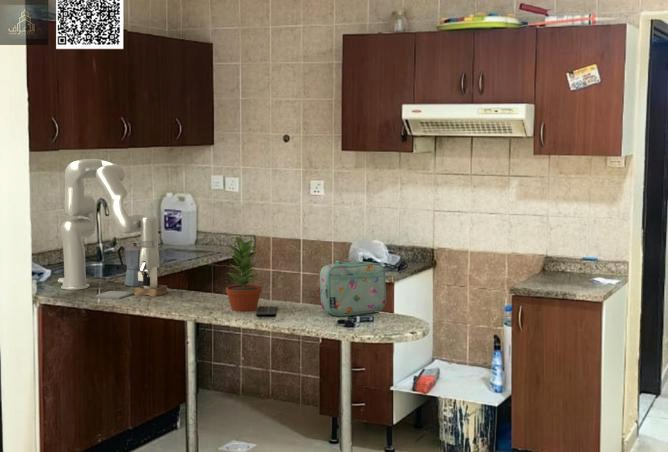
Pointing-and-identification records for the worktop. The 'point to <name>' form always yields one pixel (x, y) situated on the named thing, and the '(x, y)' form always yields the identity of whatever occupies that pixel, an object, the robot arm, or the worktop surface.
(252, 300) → the potted plant
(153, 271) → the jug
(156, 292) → the holder
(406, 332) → the worktop surface
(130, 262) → the moka pot
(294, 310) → the worktop surface
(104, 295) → the plate
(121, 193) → the robot arm
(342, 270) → the lunch box
